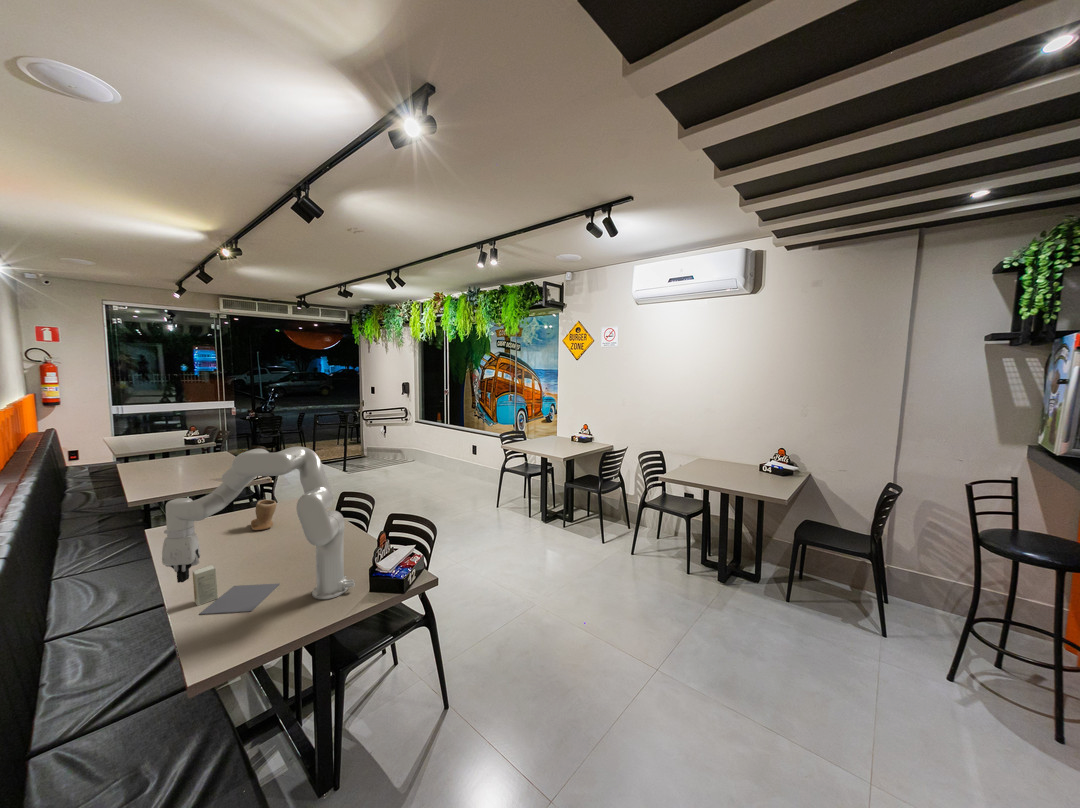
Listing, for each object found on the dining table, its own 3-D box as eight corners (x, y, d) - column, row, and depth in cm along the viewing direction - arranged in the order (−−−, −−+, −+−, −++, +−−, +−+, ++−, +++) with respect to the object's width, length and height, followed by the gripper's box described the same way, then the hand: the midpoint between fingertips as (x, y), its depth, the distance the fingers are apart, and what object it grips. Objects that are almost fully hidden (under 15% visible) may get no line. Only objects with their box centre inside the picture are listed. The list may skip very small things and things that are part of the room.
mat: (279, 584, 160) (279, 583, 160) (251, 611, 141) (251, 610, 141) (233, 586, 158) (233, 585, 158) (199, 614, 139) (199, 613, 139)
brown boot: (277, 528, 219) (276, 502, 218) (251, 533, 212) (250, 506, 211) (276, 520, 231) (275, 495, 230) (251, 524, 224) (250, 498, 223)
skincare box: (215, 595, 152) (213, 564, 151) (218, 599, 149) (216, 567, 148) (193, 602, 147) (191, 570, 146) (196, 606, 144) (194, 574, 143)
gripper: (149, 537, 141) (152, 587, 142) (195, 535, 143) (197, 584, 144) (166, 529, 148) (169, 576, 149) (210, 527, 150) (212, 574, 151)
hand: (183, 580), depth 147 cm, fingers closed
